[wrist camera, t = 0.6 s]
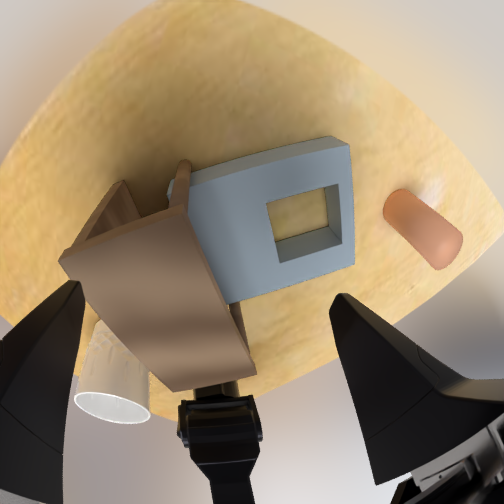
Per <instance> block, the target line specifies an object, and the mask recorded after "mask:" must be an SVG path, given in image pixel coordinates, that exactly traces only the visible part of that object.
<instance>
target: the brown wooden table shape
mask: <svg viewBox="0 0 504 504" xmlns="http://www.w3.org/2000/svg"><path fill="white" fill-rule="evenodd" d="M191 167H192V165H191V162H190V161H189V160H186V159H184V160H181V161H180V162H179V165H178V168H177V172H176V176H175V180H174V184H173V189H172V193H171V197H170V201H169V206H168V209H166V210H163V211H160V212H157V213H154V214H152V215H149V216H146V217H144V218H141V216H140V214H139V212H138V210H137V208H136V206H135V204H134V201H133V199H132V197H131V195H130V193H129V191H128V188H127V186H126V184H125V182H124V180H123V181H120V182H118V183H116V184H113V185H112V187H111V188H110V189H109V191H108V192H107V194H106V195H105V196H104V198H103V199H102V200H101V202H100V203H99V205H98V206H97V207H96V209H95V210H94V212H93V213H92V215H91V216H90V218H89V219H88V221H87V222H86V224H85V225H84V227H83V228H82V230H81V231H80V233H79V235H78V236H77V238H76V239H75V241H74V243H73V244H72V246H71V247H70V248H67V249H65V250H64V251H63V253H62V255H61V256H60V258H59V260H58V262H59V264H60V265H61V267H62V268H63V270H64V271H65V273H66V274H67V275H68V277H69V278H70V280H77V281H80V282H81V285H82V289H83V293H84V297H85V300H86V301H87V302H88V303H89V305H90V306H91V307H92V308H93V310H94V311H95V312H96V313H97V315H98V316H99V317H100V318H101V319H102V321H103V322H104V323H105V324H106V325H107V326H108V328H109V329H110V330H111V331H112V332H113V333H114V334H115V335H116V337H117V338H118V339H119V340H120V341H121V342H122V343H123V344H124V345H125V346H126V347H127V348H128V349H129V351H130V352H131V353H132V354H133V355H134V356H135V357H136V358H137V359H138V360H139V361H140V362H141V363H142V364H143V365H144V366H145V367H146V368H147V369H148V370H149V371H150V372H151V373H153V374H154V375H155V376H156V377H157V378H158V379H159V380H160V381H161V382H162V383H163V384H164V385H165V386H167V387H168V388H169V389H170V390H171V391H172V392H179V391H185V390H191V389H196V388H201V387H206V386H211V385H216V384H220V383H225V382H229V381H234V380H238V379H242V378H246V377H250V376H254V375H257V372H256V368H255V364H254V362H253V360H252V357H251V355H250V351H249V346H248V342H247V337H246V332H245V327H244V323H243V318H242V313H241V308H240V303H239V301H238V302H235V303H231V304H229V309H228V307H227V305H226V303H225V300H224V298H223V296H222V294H221V291H220V289H219V287H218V285H217V283H216V280H215V278H214V276H213V273H212V271H211V269H210V267H209V264H208V262H207V260H206V257H205V255H204V253H203V250H202V248H201V246H200V243H199V241H198V239H197V236H196V234H195V231H194V229H193V227H192V224H191V222H190V219H189V217H188V201H189V188H190V177H191ZM229 310H230V311H229Z"/></svg>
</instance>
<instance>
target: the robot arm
mask: <svg viewBox="0 0 504 504" xmlns="http://www.w3.org/2000/svg"><path fill="white" fill-rule="evenodd" d="M84 310H85V297H84V293H83V289H82V285H81V282H80V281H77V280H68V281H67V282H66V283H64V284H63V285H62V286H61V287H59V288H58V289H57V290H56V291H55V292H53V293H52V294H51V295H50V296H49V297H47V298H46V299H45V300H44V301H43V302H42V303H40V304H39V305H38V306H37V307H36V308H35V309H34V310H32V311H31V312H30V313H29V314H28V315H27V316H26V317H25V318H23V319H22V320H21V321H20V322H19V323H18V324H17V325H16V326H15V327H14V328H13V329H12V330H11V331H9V332H8V333H7V334H6V335H5V336H4V337H3V338H2V340H0V504H39V502H42V503H46V504H63V478H62V477H63V476H62V475H63V455H62V454H63V446H64V432H65V424H66V415H67V408H68V401H69V394H70V388H71V382H72V377H73V372H74V367H75V362H76V358H77V353H78V349H79V343H80V336H81V329H82V323H83V316H84ZM329 317H330V321H331V325H332V330H333V334H334V339H335V343H336V348H337V351H338V354H339V358H340V361H341V364H342V367H343V370H344V373H345V376H346V379H347V383H348V386H349V389H350V393H351V396H352V399H353V403H354V406H355V409H356V413H357V416H358V420H359V423H360V427H361V431H362V434H363V438H364V441H365V446H366V449H367V453H368V457H369V461H370V465H371V469H372V473H373V478H374V482H375V484H376V485H379V484H382V483H385V482H387V481H390V480H392V479H395V478H397V477H399V476H402V475H404V474H406V473H408V472H411V474H412V476H411V477H410V478H408V479H406V480H404V481H403V482H401V483H399V484H398V486H397V489H396V491H395V494H394V496H393V498H392V501H391V503H390V504H504V379H487V380H485V379H484V380H474V379H469V378H465V377H463V376H462V375H460V374H459V373H457V372H455V371H454V370H453V369H451V368H450V367H448V366H447V365H445V364H443V363H442V362H440V361H439V360H437V359H436V358H435V357H433V356H432V355H430V354H429V353H428V352H426V351H425V350H424V349H422V348H421V347H420V346H418V345H416V343H414V342H413V341H412V340H410V339H409V338H408V337H406V336H405V335H404V334H403V333H401V332H400V331H398V330H397V329H396V328H394V327H393V326H392V325H390V324H389V323H388V322H386V321H385V320H384V319H382V318H381V317H380V316H378V315H377V314H376V313H374V312H373V311H372V310H370V309H369V308H368V307H366V306H365V305H363V304H362V303H361V302H359V301H358V300H357V299H355V298H354V297H352V296H351V295H350V294H348V293H339V294H337V295H336V297H335V299H334V301H333V303H332V305H331V307H330V310H329ZM193 395H194V400H181V405H179V406H178V427H177V436H178V437H179V438H181V439H182V442H183V444H184V447H185V448H189V450H190V457H191V459H192V460H193V461H194V462H195V464H196V465H197V466H198V467H199V469H200V470H201V471H202V472H203V473H204V474H205V476H206V477H207V478H208V479H209V481H210V487H211V493H212V499H213V504H255V501H254V496H253V492H252V487H251V482H250V477H249V476H250V474H251V472H252V469H253V467H254V465H255V463H256V460H257V458H258V455H259V453H260V447H259V442H261V441H262V439H263V437H262V436H263V435H262V428H261V422H260V418H259V415H258V412H257V408H256V405H255V401H254V398H253V395H248V396H242V397H240V395H239V389H238V383H237V380H234V381H229V382H225V383H220V384H216V385H211V386H206V387H201V388H196V389H193Z"/></svg>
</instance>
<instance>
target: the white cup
mask: <svg viewBox="0 0 504 504" xmlns="http://www.w3.org/2000/svg"><path fill="white" fill-rule="evenodd" d="M74 401H75V403H76V404H77V406H78V407H80V408H81V409H82V410H84V411H85V412H87V413H89V414H90V415H93V416H95V417H97V418H100V419H103V420H107V421H110V422H116V423H123V424H136V423H142V422H145V421H147V420H148V419H149V418H150V417H151V412H150V374H149V370H148V369H147V368H146V367H145V366H144V365H143V364H142V363H141V362H140V361H139V360H138V359H137V358H136V357H135V356H134V355H133V354H132V353H131V352H130V351H129V349H128V348H127V347H126V346H125V345H124V344H123V343H122V342H121V341H120V340H119V339H118V338H117V337H116V335H115V334H114V333H113V332H112V331H111V330H110V329H109V328H108V326H107V325H106V324H105V323H104V322H103V321H102V319H100V320H99V321H98V322H97V323H96V324H95V327H94V331H93V334H92V337H91V341H90V343H89V344H88V347H87V350H86V354H85V357H84V360H83V363H82V367H81V371H80V375H79V379H78V383H77V387H76V391H75V396H74Z"/></svg>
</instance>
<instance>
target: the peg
mask: <svg viewBox="0 0 504 504" xmlns="http://www.w3.org/2000/svg"><path fill="white" fill-rule="evenodd" d="M383 215H384V218H385V220H386V221H387V222H388V223H389V224H390V225H391V226H392V227H393V228H394V229H395V230H396V231H398V232H399V233H400V234H401V235H402V236H403V237H404V238H405V239H406V240H407V241H408V242H409V243H410V244H411V245H412V246H413V247H414V248H415V249H416V250H417V251H418V252H419V253H420V254H421V255H422V256H423V258H424V259H425V260H426V261H427V262H428V263H429V264H430V265H431V266H432V267H433V268H434V269H435V270H441V269H444V268H445V267H447V266H448V265H449V264H450V263H452V261H453V260H454V259H455V258H456V256H457V255H458V253H459V251H460V249H461V247H462V243H463V235H462V233H461V232H460V231H459V230H458V229H457V228H456V227H454V226H453V225H452V224H451V223H450V222H448V221H447V220H446V219H445V218H443V217H442V216H441V215H440V214H438V213H437V212H436V211H434V210H433V209H432V208H431V207H429V206H428V205H427V204H425V203H424V202H423V201H421V200H420V199H418V198H417V197H416V196H414V195H413V194H412V193H410V192H409V191H407V190H405V189H399V190H397V191H395V192H393V193H392V194H391V195H390V196H389V197H388V199H387V200H386V202H385V205H384V209H383Z"/></svg>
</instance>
